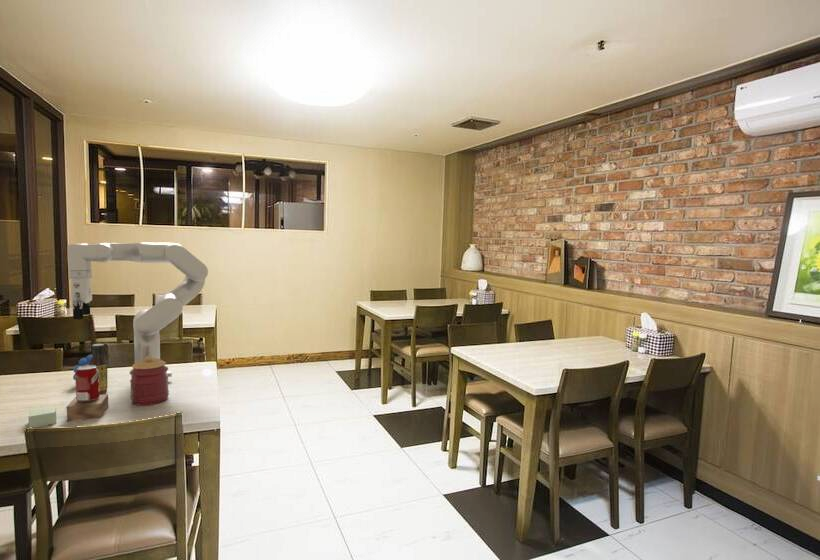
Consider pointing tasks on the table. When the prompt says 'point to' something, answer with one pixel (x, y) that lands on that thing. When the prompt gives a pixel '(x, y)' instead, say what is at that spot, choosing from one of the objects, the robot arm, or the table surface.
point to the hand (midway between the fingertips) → (82, 316)
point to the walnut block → (87, 408)
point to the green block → (42, 416)
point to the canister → (149, 381)
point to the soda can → (87, 383)
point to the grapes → (82, 363)
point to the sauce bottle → (100, 366)
